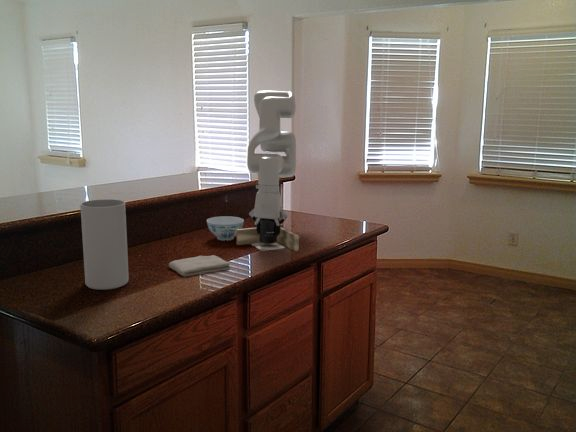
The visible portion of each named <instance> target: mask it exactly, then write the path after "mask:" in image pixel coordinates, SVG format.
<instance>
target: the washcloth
mask: <svg viewBox="0 0 576 432" xmlns="http://www.w3.org/2000/svg"><path fill="white" fill-rule="evenodd" d="M168 267H169V268H170V269H172V270H173V271H175V272H176V273H177V274H179V275H180V276H182V277H189V276H195V275H201V274H202V275H203V274H206V273H213V272H217V271H218V272H219V271H224V270H230V262H228V261H227V260H224V259H223V258H222V257H219V256H217V255H215V254H212V255H198V256H194V257H187V258H180V259H175V260H173V261H170V262H168Z"/></svg>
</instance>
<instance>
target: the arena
mask: <svg viewBox="0 0 576 432" xmlns="http://www.w3.org/2000/svg"><path fill="white" fill-rule="evenodd" d="M299 242H300V236H299V234H297V233H294V232H292V231H290V230H289V229H286V228H284V227H282V226H281V229H280V234H279V235H278V236H277V241H276V242H275V243H271V244H266V243H261V242H260V241H259V234H257V231H256V227H248V228H247V227H246V228H242V229H237V235H236V245H238V246H240V245H241V246H242V245H251V246H253V247H255V248H256V249H258V250H259V251H261V252H265V251H266V252H267V251H275V250H283V249H286V247H287V248H288V249H290V250H291V251H293V252H298V251H299V249H300V248H299V247H300V245H299V244H300V243H299Z"/></svg>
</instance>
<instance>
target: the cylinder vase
mask: <svg viewBox="0 0 576 432" xmlns="http://www.w3.org/2000/svg"><path fill="white" fill-rule="evenodd" d="M126 210H127V209H126V201H125V200H120V199H111V198H110V199H109V198H107V199H106V198H105V199H92V200H86V201H82V202H80V218H81V219H80V220H81V233H82V234H81V235H82V237H81V238H82V251H83V252H82V253H83V269H84V270H83V271H84V283H85V286H86V287H88V288H89V289H92V290H98V291H101V290H102V291H105V290H113V289H114V290H115V289H118V288H121V287H124V286H125V285H127V284H128V282H129V258H128V257H129V256H128V255H129V254H128V237H127V236H128V235H127V216H126V215H127V213H126Z"/></svg>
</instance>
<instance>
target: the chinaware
mask: <svg viewBox="0 0 576 432" xmlns="http://www.w3.org/2000/svg"><path fill="white" fill-rule="evenodd" d="M244 223H245V220H244V219H243V218H241V217H238V216H227V215H225V216H223V215H221V216H213V217H210V218H207V219H206V224H207V227H208V229H209V232H211V234H212V235H213V236H215V237H216V239H217V240H218V241H223V242H224V241H225V240H226V242H227V241H232V240H234V237H237V229H243V225H244Z"/></svg>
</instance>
